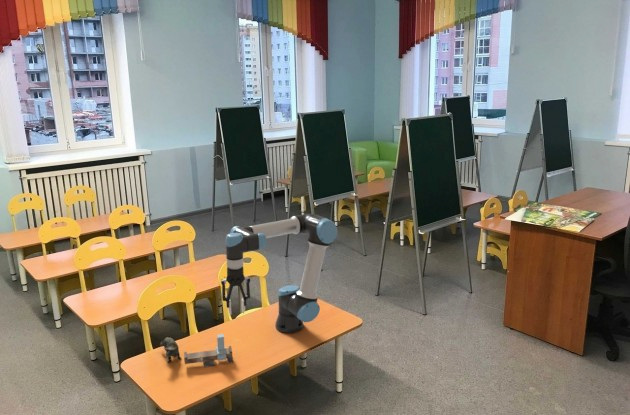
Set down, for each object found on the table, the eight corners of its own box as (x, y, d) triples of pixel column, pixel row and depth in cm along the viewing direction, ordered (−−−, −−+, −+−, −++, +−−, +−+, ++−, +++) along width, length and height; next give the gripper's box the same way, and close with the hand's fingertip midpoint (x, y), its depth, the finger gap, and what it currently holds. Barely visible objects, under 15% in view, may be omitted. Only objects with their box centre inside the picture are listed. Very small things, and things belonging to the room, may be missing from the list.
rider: (224, 351, 242) (223, 331, 239) (226, 359, 235) (225, 339, 232) (216, 352, 241) (215, 332, 238) (217, 360, 234) (216, 340, 231)
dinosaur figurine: (160, 348, 250) (158, 328, 248) (177, 345, 254) (175, 325, 251) (165, 371, 231) (164, 349, 228) (184, 367, 234) (182, 346, 231)
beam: (231, 357, 243) (231, 345, 241) (233, 363, 238) (232, 351, 236) (184, 364, 237) (184, 351, 235) (185, 370, 232) (184, 357, 231)
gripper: (253, 261, 235) (254, 307, 241) (214, 265, 230) (216, 311, 236) (256, 267, 228) (257, 314, 234) (215, 271, 223) (217, 318, 229)
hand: (236, 312), depth 235 cm, fingers open, 5 cm apart
